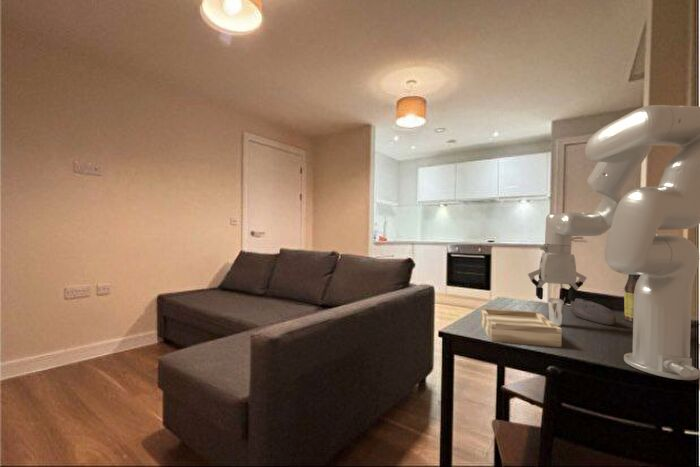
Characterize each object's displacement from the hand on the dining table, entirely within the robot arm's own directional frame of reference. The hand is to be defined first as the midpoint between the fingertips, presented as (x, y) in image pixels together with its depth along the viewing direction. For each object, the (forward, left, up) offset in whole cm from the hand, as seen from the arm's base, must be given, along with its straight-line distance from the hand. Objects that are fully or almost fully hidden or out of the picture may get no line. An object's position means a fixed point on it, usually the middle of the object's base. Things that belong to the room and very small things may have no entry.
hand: (555, 299), depth 106 cm
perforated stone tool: (+8, -15, -9) cm, 20 cm away
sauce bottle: (+12, -30, -9) cm, 34 cm away
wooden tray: (-14, +16, -9) cm, 23 cm away
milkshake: (-1, 0, -9) cm, 9 cm away
